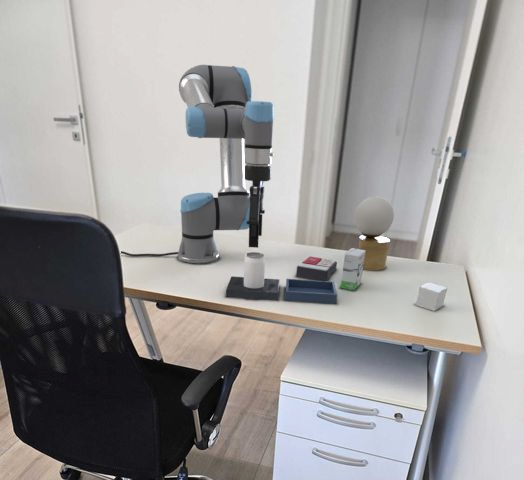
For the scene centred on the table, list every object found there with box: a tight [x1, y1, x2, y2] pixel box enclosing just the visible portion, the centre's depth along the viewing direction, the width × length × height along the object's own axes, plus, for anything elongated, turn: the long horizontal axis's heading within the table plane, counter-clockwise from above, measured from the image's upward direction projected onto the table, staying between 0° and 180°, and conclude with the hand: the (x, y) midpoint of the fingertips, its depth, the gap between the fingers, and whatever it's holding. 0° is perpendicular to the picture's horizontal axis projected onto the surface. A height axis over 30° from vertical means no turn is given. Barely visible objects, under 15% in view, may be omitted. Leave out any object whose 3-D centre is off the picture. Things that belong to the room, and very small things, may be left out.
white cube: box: [415, 282, 448, 312], centre depth 134 cm, size 6×6×6 cm
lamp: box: [353, 195, 395, 272], centre depth 163 cm, size 15×14×25 cm
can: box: [243, 251, 266, 288], centre depth 137 cm, size 6×6×12 cm
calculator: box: [295, 256, 338, 281], centre depth 157 cm, size 11×4×15 cm
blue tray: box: [284, 278, 338, 305], centre depth 138 cm, size 16×12×3 cm
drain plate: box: [225, 275, 281, 301], centre depth 139 cm, size 16×13×2 cm
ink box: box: [339, 247, 365, 291], centre depth 145 cm, size 9×5×12 cm, turn 153°
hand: (255, 241), depth 132 cm, fingers open, 13 cm apart
